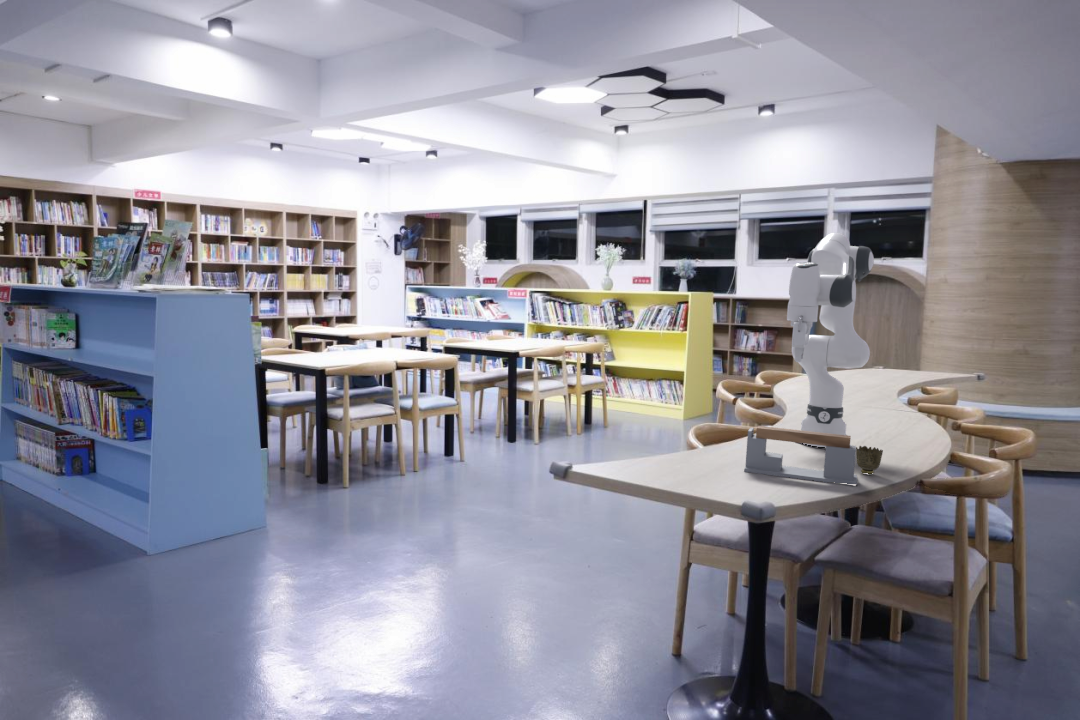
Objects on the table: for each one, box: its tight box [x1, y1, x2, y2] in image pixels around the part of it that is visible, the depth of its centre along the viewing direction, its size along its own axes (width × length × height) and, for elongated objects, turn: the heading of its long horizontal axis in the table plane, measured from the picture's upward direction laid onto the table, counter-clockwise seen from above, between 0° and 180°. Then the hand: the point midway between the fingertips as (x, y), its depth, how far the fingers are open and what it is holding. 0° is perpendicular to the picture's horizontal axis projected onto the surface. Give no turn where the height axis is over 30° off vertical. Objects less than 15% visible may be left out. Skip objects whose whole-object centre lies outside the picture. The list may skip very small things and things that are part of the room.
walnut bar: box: [755, 425, 852, 449], centre depth 218 cm, size 4×26×11 cm, turn 67°
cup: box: [855, 445, 884, 474], centre depth 223 cm, size 8×7×8 cm
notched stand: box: [743, 427, 858, 485], centre depth 218 cm, size 10×31×12 cm, turn 67°
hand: (798, 360), depth 228 cm, fingers open, 8 cm apart
